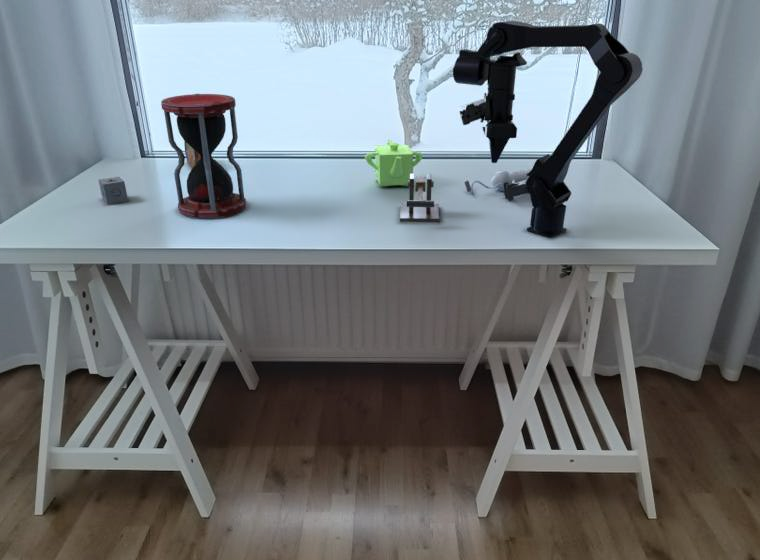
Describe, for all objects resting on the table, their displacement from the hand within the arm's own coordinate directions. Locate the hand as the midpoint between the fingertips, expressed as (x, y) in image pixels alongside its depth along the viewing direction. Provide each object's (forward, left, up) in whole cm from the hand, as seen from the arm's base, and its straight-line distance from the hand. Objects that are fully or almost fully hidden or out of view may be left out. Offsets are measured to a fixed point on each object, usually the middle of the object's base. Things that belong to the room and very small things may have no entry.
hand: (493, 162), depth 147 cm
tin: (+88, +28, -13) cm, 93 cm away
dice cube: (+72, +59, -13) cm, 94 cm away
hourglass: (+50, +44, -13) cm, 68 cm away
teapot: (+36, -3, -13) cm, 38 cm away
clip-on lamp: (+11, -17, -13) cm, 24 cm away
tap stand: (+12, +10, -13) cm, 21 cm away
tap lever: (+10, +13, -7) cm, 18 cm away
